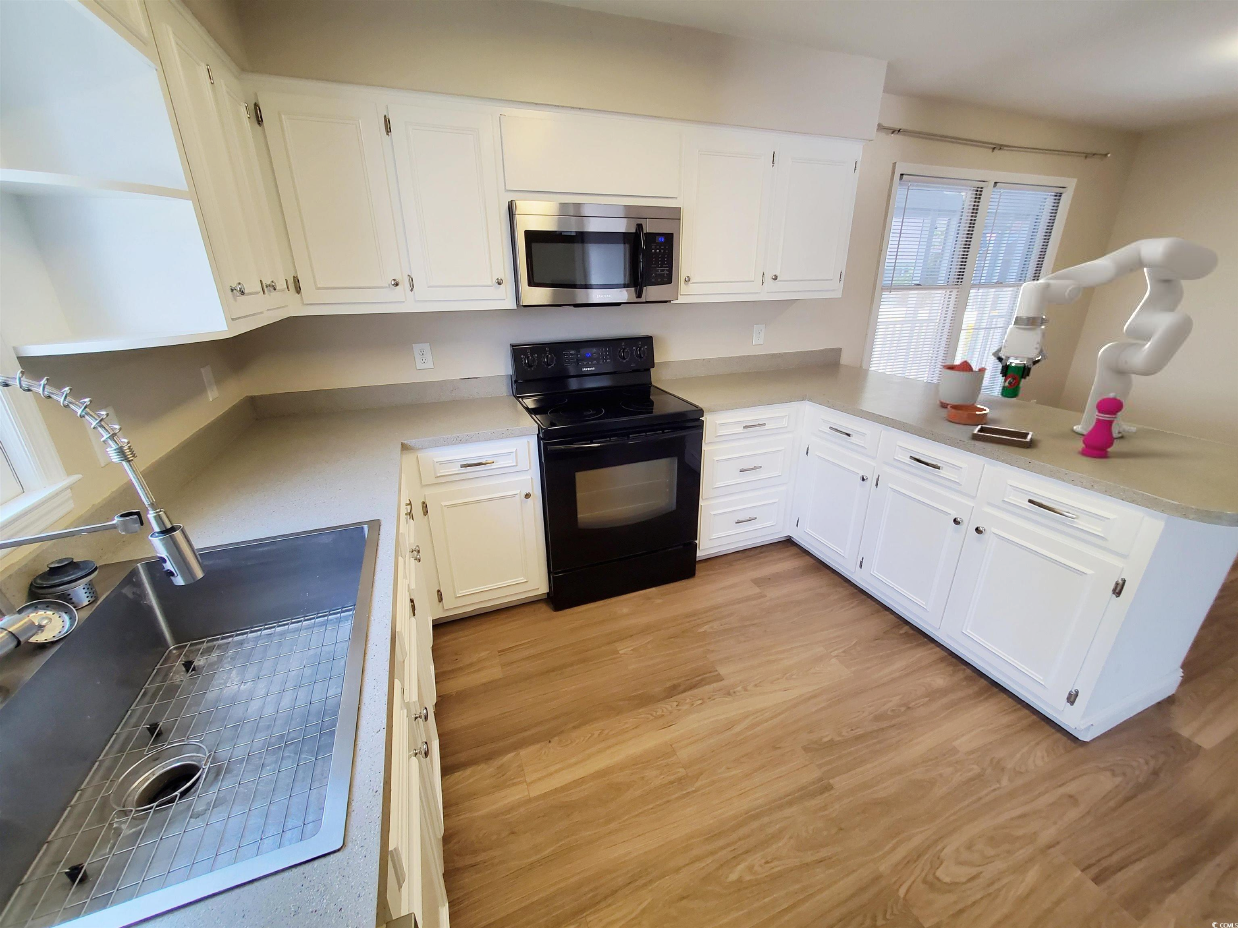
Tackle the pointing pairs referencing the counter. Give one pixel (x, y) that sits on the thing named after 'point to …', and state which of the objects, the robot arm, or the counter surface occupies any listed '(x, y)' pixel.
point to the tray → (1002, 436)
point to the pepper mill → (1102, 428)
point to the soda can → (1013, 379)
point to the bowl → (967, 414)
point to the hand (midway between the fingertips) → (1013, 377)
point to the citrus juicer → (960, 384)
